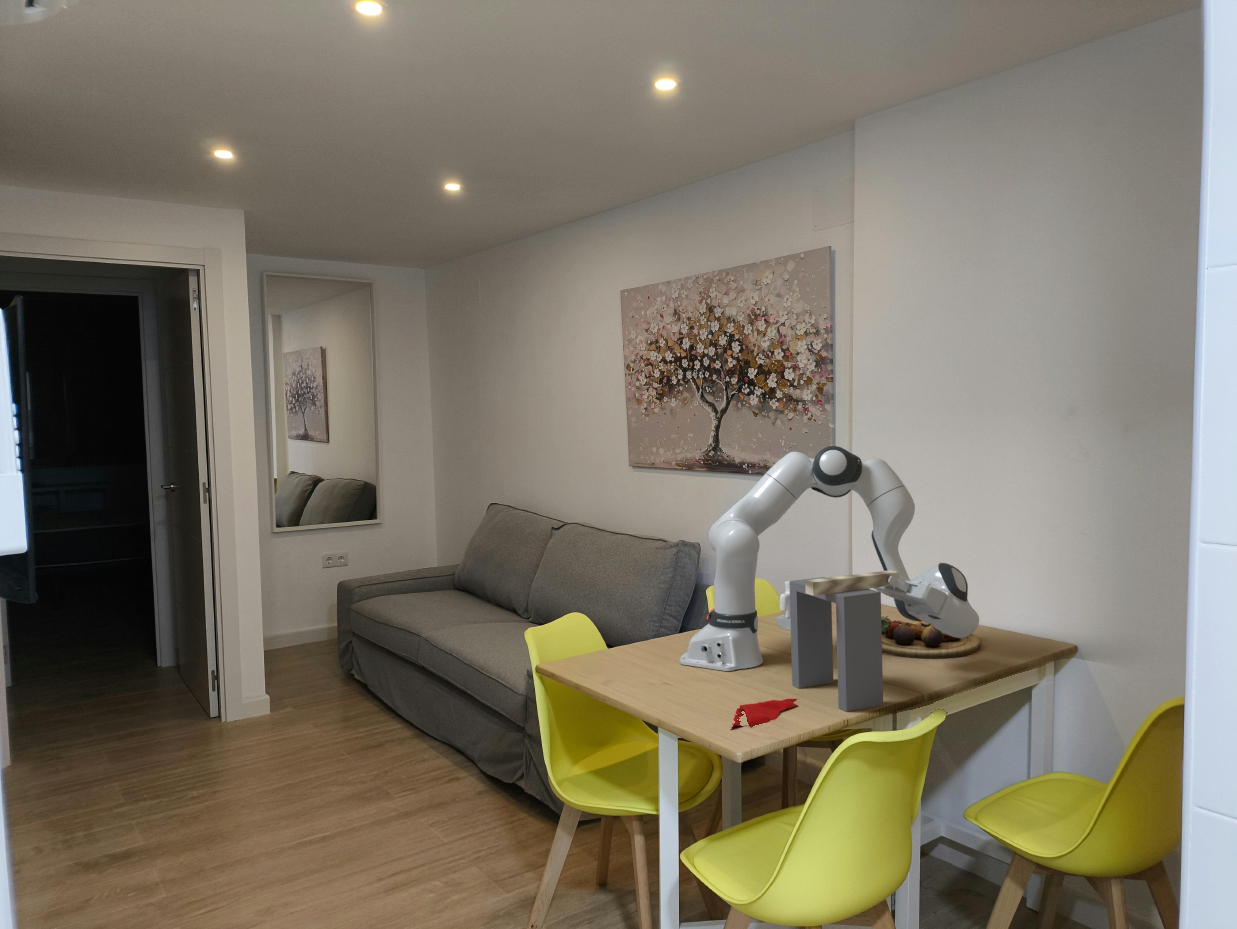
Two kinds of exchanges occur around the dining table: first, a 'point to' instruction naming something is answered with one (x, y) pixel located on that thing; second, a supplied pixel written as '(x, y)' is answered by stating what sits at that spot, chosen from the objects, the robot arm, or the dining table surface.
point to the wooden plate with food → (923, 641)
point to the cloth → (762, 711)
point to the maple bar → (849, 582)
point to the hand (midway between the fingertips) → (882, 577)
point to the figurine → (785, 609)
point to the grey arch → (838, 643)
